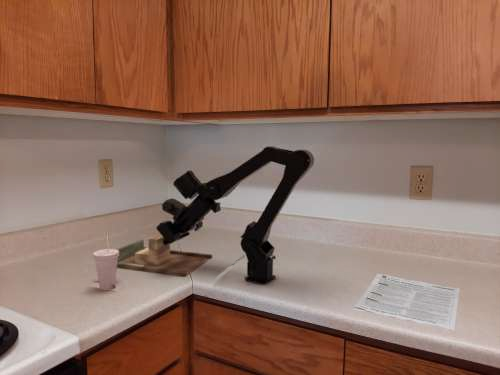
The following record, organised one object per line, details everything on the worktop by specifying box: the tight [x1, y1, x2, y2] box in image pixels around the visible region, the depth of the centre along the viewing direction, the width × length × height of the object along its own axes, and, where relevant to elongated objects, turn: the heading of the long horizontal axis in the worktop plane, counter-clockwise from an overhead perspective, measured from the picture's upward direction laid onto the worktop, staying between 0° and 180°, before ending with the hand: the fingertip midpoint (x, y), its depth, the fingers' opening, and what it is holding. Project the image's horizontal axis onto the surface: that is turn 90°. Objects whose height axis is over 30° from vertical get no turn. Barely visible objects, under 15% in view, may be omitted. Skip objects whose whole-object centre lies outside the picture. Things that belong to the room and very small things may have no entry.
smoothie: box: [92, 235, 119, 292], centre depth 95 cm, size 6×6×14 cm
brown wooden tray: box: [116, 238, 213, 278], centre depth 112 cm, size 26×18×6 cm
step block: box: [135, 233, 171, 266], centre depth 113 cm, size 8×7×8 cm
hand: (164, 243), depth 111 cm, fingers closed, pressing on step block
